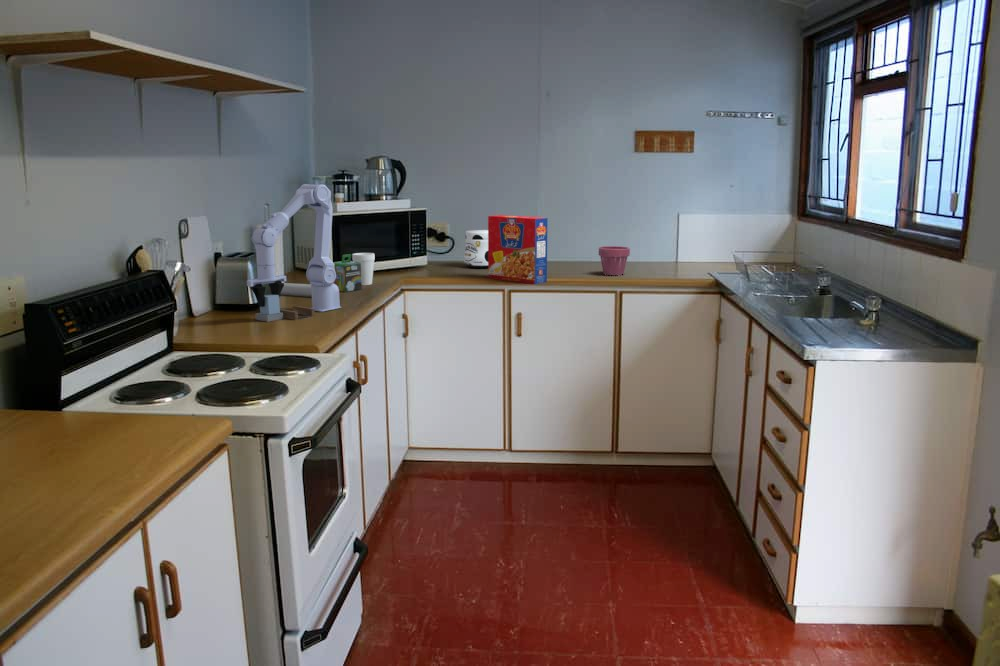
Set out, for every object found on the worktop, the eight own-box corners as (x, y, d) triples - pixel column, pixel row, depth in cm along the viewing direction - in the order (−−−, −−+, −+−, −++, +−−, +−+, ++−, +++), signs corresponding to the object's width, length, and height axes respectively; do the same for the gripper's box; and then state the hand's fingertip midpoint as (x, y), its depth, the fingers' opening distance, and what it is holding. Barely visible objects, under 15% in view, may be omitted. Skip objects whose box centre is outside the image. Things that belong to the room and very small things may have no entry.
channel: (295, 312, 277) (295, 305, 277) (314, 315, 272) (314, 308, 271) (276, 316, 271) (275, 309, 270) (295, 319, 265) (294, 312, 264)
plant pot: (621, 272, 378) (622, 245, 376) (633, 276, 365) (634, 248, 362) (593, 273, 375) (594, 246, 372) (604, 277, 361) (605, 249, 359)
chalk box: (348, 287, 333) (346, 252, 330) (362, 289, 327) (361, 254, 324) (330, 290, 326) (329, 254, 323) (345, 292, 320) (343, 256, 317)
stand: (271, 316, 271) (270, 310, 270) (283, 318, 267) (282, 312, 266) (255, 319, 266) (255, 313, 265) (267, 321, 262) (267, 315, 261)
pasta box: (488, 277, 360) (488, 216, 354) (500, 276, 366) (500, 215, 360) (534, 284, 341) (535, 219, 336) (546, 282, 347) (547, 218, 341)
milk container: (459, 268, 392) (458, 232, 388) (470, 264, 408) (470, 229, 404) (492, 270, 387) (492, 233, 383) (502, 265, 403) (502, 230, 399)
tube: (270, 285, 314) (324, 288, 305) (278, 279, 318) (331, 282, 309) (274, 297, 316) (328, 301, 307) (281, 291, 320) (334, 294, 312)
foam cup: (379, 282, 346) (378, 253, 343) (369, 286, 337) (368, 255, 334) (359, 281, 349) (358, 252, 346) (349, 284, 340) (348, 254, 337)
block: (271, 311, 269) (270, 294, 267) (280, 312, 266) (278, 295, 265) (260, 313, 265) (259, 295, 264) (269, 314, 262) (267, 296, 261)
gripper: (276, 261, 270) (278, 301, 273) (239, 266, 259) (242, 307, 262) (289, 263, 266) (291, 303, 269) (253, 267, 255) (256, 309, 258)
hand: (268, 305), depth 265 cm, fingers open, 5 cm apart
